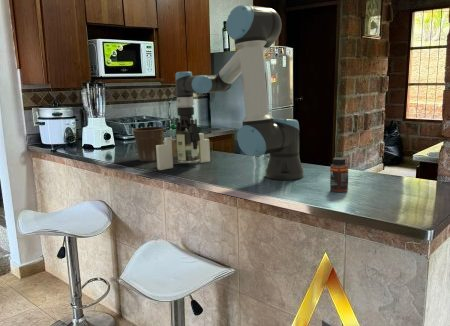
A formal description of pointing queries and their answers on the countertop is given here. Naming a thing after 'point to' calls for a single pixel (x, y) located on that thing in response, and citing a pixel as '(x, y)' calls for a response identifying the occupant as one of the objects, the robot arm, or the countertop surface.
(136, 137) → the plant pot
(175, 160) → the door
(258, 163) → the countertop surface
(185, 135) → the coffee can
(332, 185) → the supplement bottle
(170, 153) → the door frame
